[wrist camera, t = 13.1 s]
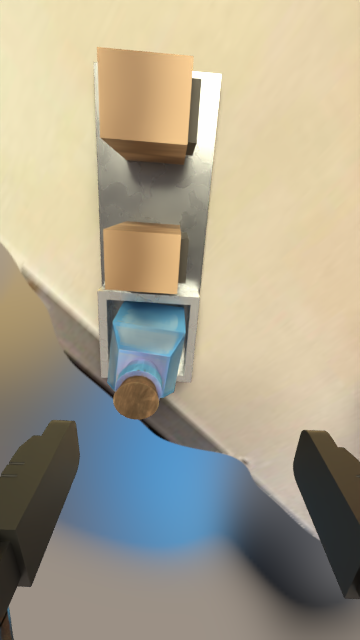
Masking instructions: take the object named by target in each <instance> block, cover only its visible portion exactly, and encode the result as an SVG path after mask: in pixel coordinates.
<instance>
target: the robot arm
mask: <svg viewBox="0 0 360 640" xmlns="http://www.w3.org/2000/svg"><path fill="white" fill-rule="evenodd" d="M79 457H80V453H79V445H78V436H77V428H76V423H75V421H64V420H52V421H51V422H50V423H49V424H48V426H47V427H46V429H45V431H44V432H43V434H42V436H32V437H31V438H30V439H29V440H27V442H25V443H24V444H23V445H21V446H20V447H19V449H18V450H17V452H16V453H15V454H14V456H13V457H12V459H11V460H10V462H9V465H7V466H6V468H5V469H4V471H3V472H2V473H1V477H0V640H14V638H13V631H12V624H11V617H10V610H9V604H10V602H11V599H12V597H13V595H14V592H15V590H16V588H17V586H22V587H23V586H24V587H31V586H32V583H33V581H34V578H35V576H36V573H37V571H38V568H39V566H40V563H41V561H42V558H43V556H44V553H45V551H46V548H47V545H48V543H49V541H50V538H51V536H52V533H53V530H54V528H55V525H56V523H57V520H58V518H59V515H60V513H61V510H62V508H63V505H64V502H65V500H66V498H67V495H68V493H69V490H70V488H71V485H72V482H73V480H74V478H75V475H76V472H77V469H78V465H79ZM293 471H294V476H295V480H296V483H297V485H298V488H299V490H300V492H301V495H302V497H303V500H304V502H305V504H306V507H307V509H308V512H309V514H310V516H311V519H312V521H313V524H314V526H315V528H316V531H317V533H318V536H319V538H320V541H321V543H322V545H323V547H324V550H325V553H326V554H327V557H328V560H329V562H330V565H331V567H332V569H333V572H334V574H335V576H336V579H337V582H338V584H339V586H340V589H341V591H342V594H343V596H344V598H348V599H360V462H359V460H358V459H356V458H355V457H354V456H353V455H352V454H351V453H349V452H348V451H347V450H346V449H345V448H342V447H337V445H336V444H335V442H334V440H333V439H332V437H331V436H330V434H329V433H328V432H326V431H315V430H303V431H302V432H301V435H300V439H299V442H298V446H297V450H296V454H295V458H294V462H293Z"/></svg>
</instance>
